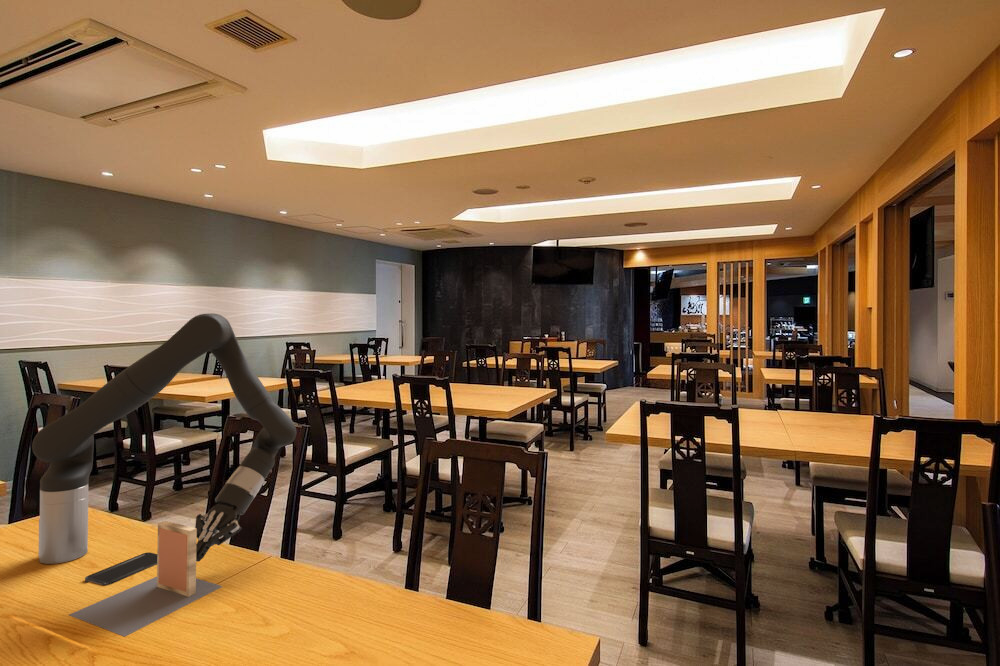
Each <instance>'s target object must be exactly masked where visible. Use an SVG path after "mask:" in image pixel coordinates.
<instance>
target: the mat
mask: <svg viewBox="0 0 1000 666" xmlns="http://www.w3.org/2000/svg"><path fill="white" fill-rule="evenodd" d="M222 587H223V588H224V586H223V585H221V584H217V583H213V582H209V581H207V580H203V579H199V578H197V577H196V594H194V595H192V596H190V597H188V596H185V595H181V594H178V593H175V592H172V591H169V590H166V589H163V588H159V587H157V576H155V577H153V578H152V577H151V578H150V579H148V580H145V581H143V582H141V583H139V584H137V585H135V586H132V587H129V588H127V589H125V590H123V591H120V592H118V593H116V594H113V595H111V596H109V597H106V598H104V599H102V600H98V601H97V602H95V603H92V604H90V605H88V606H85V607H83V608H82V609H81V608H80V609H79V610H76V611H74V612H72V613H69V614H68V616H70V617H72V618H74V619H77V620H80V621H83V622H86V623H89V625H90V624H91V625H93V626H95V627H98V628H101V629H104V630H107V631H109V632H111V633H114V634H117V635H119V636H122V637H127V636H129V635H131V634H134V633H135V632H136V631H138V630H140V629H143V628H145V627H147V626H148V625H151V624H152V623H154V622H156V621H159V620H160V619H162V618H164V617H166V616H169V615H170V614H173V613H174V612H176V611H178V610H179V609H181V608H184V607H186V606H188V605H190V604H191V603H193V602H196V601H197V600H199V599H201V598H203V597H206V596H208V595H209V594H212V593H213V592H215V591H217V590H219V589H221V588H222Z"/></svg>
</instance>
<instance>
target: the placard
mask: <svg viewBox="0 0 1000 666" xmlns="http://www.w3.org/2000/svg"><path fill="white" fill-rule="evenodd" d="M197 542H198V538H197V528H195V527H194V526H193V527H192V526H188V525H184V524H181V523H175V522H172V521H168V520H163V521H159V522H157V549H156V550H157V551H156V552H157V553H156V554H157V565H156V568H157V569H156V577H157V587H159V588H163V589H166V590H169V591H172V592H175V593H178V594H181V595H185V596H188V597H190V596H192V595H194V594H196V578H197V561H196V544H197Z"/></svg>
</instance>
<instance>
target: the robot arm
mask: <svg viewBox="0 0 1000 666" xmlns="http://www.w3.org/2000/svg"><path fill="white" fill-rule="evenodd" d="M209 352H210V353H211V354H212V355H213V356H214V358H215V359H216V360H217V362H218V363H219V364H220V366H221V368H222V370H223V371H224V372H225V373H224V374H225V375H226V377H227V380H228V383H229V385H230V388H231V390H232V392H233V394H234V396H235V398H236V400H237V401H238V403H239V404H240V406H241V407H242V409H243V410H244V412H245V414H247V416H248V417H249V418H250V419H251V420H254V421H258V422H259V423H260V425H262V427H263V428H261V430H260V431H259V432H258V434H257V436H256V438H255V439H254V441H253V443H252V444H251V448H250V451H249V452H248V453H247V455H246V456H245V457H244V458H243V460H242V462H241V463H240V464H239V466H238V467H237V468H236V469H235V471H234V472H233V473H231V476H229V478H228V480H227V481H226V482H225V484H224V485H223V486H222V488H221V489H220V491H219V493H218V494H217V496H216V497H215V498H214V502H215V503H214V505H213V506H212V507H211V508H210V509H209V510H208V512H207V513H205V514H201V513H199V514H197V516H196V517H195V527H194V528H197V544H196V563H197V562H200V561H201V560H202V559H204V557H205V555H206V554H207V553H208V551H209V550H210V548H211V547H213V546H214V545H215V546H216V545H217V546H221V545H222V544H223V543H224V542H226V541H228V540H229V539H231V538H232V537H233V536H235V535H236V534H238V533H239V532H241V530H242V527H241V526H240V524H239V520H240V518H241V517H240V516H243V515H244V514H245V513H246V511H247V510H248V508H249V507H250V505H251V504H252V502H253V500H254V499H255V497H256V496H257V494H258V493H259V491H260V490H261V488H262V486H263V483H264V482H265V480H266V478H267V477H268V475H269V474H270V472H271V471H272V469H273V467H274V466H275V461H276V460H275V457H276V456H277V454H278V452H279V450H280V449H281V448H283V447H285V446H288V445H290V444H292V443H293V442H294V441H295V439H296V437H297V428H296V425H295V422H294V421H293V419H292V418H291V417H290V416H289V415H288V414H287V413H286V412H285V410H283V409H282V408H281V407H280V406H279V405H278V404H277V403H276V402H275V401H274V400H273V397H272V396H271V395H270V393H269V391H268V390H267V388H266V387H265V386H264V385H263V383H262V381H261V380H260V379H259V376H257V373H256V372H255V370H254V369H253V367H252V365H251V364H250V363H249V361H248V359H247V357H246V356H245V353H244V352H243V349H242V347H241V346H240V343H239V342H238V340H237V337H236V334H235V332H234V330H233V327H232V325H231V323H230V322H229V320H228V319H227V318H226V317H225V316H223V315H221V314H218V313H199V314H198V315H195V316H194V317H192V318H191V319H189V320H188V321H187V322H186V323H185V324H184V325H182V326H181V327H180V328H179V330H178V331H176V332H175V333H173V335H171V337H169V338H168V339H167V340H166V341H165V342H163V344H161V345H160V346H158V347H156V348H155V349H154V350H151V351H150V352H148V353H147V354H145V355H144V356H142V357H141V358H139V359H138V360H137V361H135V362H133V363H132V364H130V365H129V366H128V367H126V368H125V369H124V370H122V371H120V372H119V373H118V374H117V375H115V376H114V377H113V378H112V379H111V380H109V381H108V382H107V383H105V384H104V385H103V386H101V387H100V388H99V389H97V390H96V392H94V393H93V394H92V395H90V396H89V397H88V398H87V399H86V400H85V401H83V402H82V403H80V404H79V405H78V406H77V407H76V408H74V409H72V410H71V411H69V412H68V413H66V414H64V415H63V416H61V417H59V418H58V419H56V420H54V421H53V422H51V423H49V424H47V425H46V426H43V427H42V428H41V429H40V430H39V431H38V432H37V433H36V435H35V436H34V438H33V441H32V443H31V445H32V446H31V450H32V453H33V455H34V456H35V457H36V458H37V459H38V460H40V461H42V462H46V463H49V465H48V468H47V470H45V472H44V474H43V475H42V477H40V480H39V519H38V558H39V560H38V561H39V563H41V564H45V565H46V564H47V565H51V564H52V565H53V564H54V565H55V564H62V563H67V562H71V561H74V560H76V559H79V558H81V557H84V556H85V555H86V554H87V553H88V551H89V549H88V545H89V544H88V543H89V541H88V540H89V478H90V475H91V472H92V470H93V465H94V464H93V462H94V450H95V449H94V448H95V447H94V446H95V437H94V435H95V434H96V433H98V431H100V430H102V429H103V428H105V427H107V426H108V425H110V424H112V423H114V422H116V421H118V420H120V419H122V418H123V417H126V415H128V414H130V413H132V412H134V411H135V410H137V409H139V408H140V407H142V406H143V405H144V404H146V403H148V402H149V401H150V400H152V399H153V398H154V397H156V396H157V395H158V394H159V393H160V392H161V391H163V390H164V389H165V388H166V387H167V386H168V385H169V383H171V382H172V381H173V379H174V378H175V377H176V376H177V375H178V373H180V371H181V370H182V369H184V368H185V367H186V366H187V365H190V363H192V362H193V361H195V360H197V359H198V358H199V357H202V356H203V355H205V354H207V353H209Z"/></svg>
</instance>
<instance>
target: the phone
mask: <svg viewBox="0 0 1000 666" xmlns="http://www.w3.org/2000/svg"><path fill="white" fill-rule="evenodd" d="M154 566H157V553H154V552H143V553H140V554H138V555H136V556H133V557H130V558H129V559H126V560H124V561H121V562H119V563H117V564H114V565H111V566H109V567H105V568H104V569H101V570H99V571H96V572H93V573H91V574H89V575H87V576H85V578H84V582H85V583H86V584H87V583H92V584H97V585H100V586H110V585H112V584H116V583H117V582H119V581H120V582H121V580H124V579H126V578H128V577H131V576H134V575H136V574H138V573H140V572H142V571H145V570H148V569H150V568H152V567H154Z"/></svg>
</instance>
